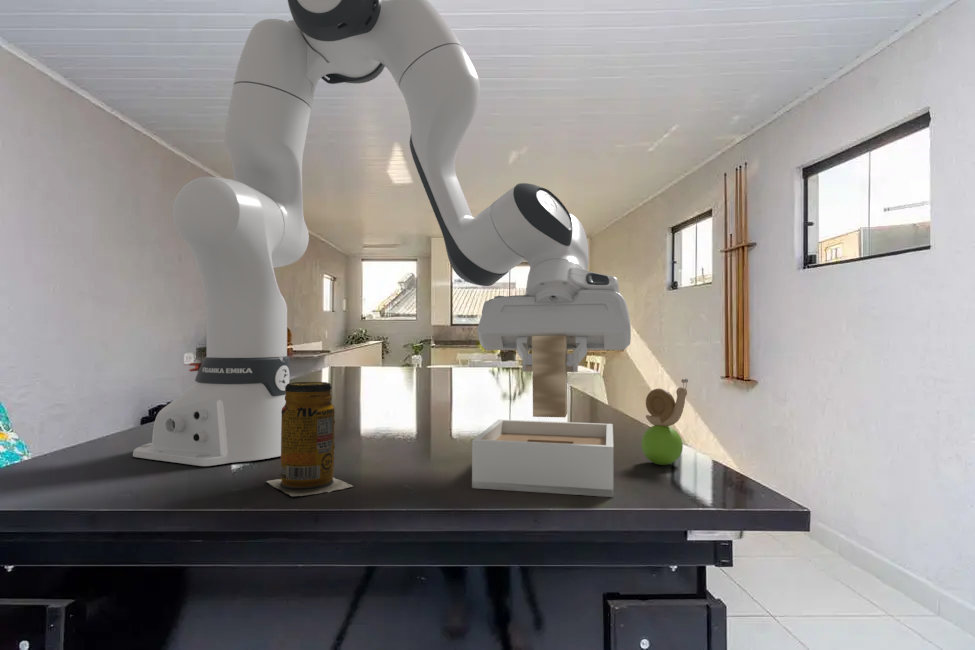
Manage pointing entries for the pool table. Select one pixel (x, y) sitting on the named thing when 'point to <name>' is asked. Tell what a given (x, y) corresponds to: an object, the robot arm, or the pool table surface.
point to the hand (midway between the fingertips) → (549, 368)
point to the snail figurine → (663, 426)
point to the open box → (544, 457)
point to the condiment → (307, 441)
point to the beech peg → (549, 376)
